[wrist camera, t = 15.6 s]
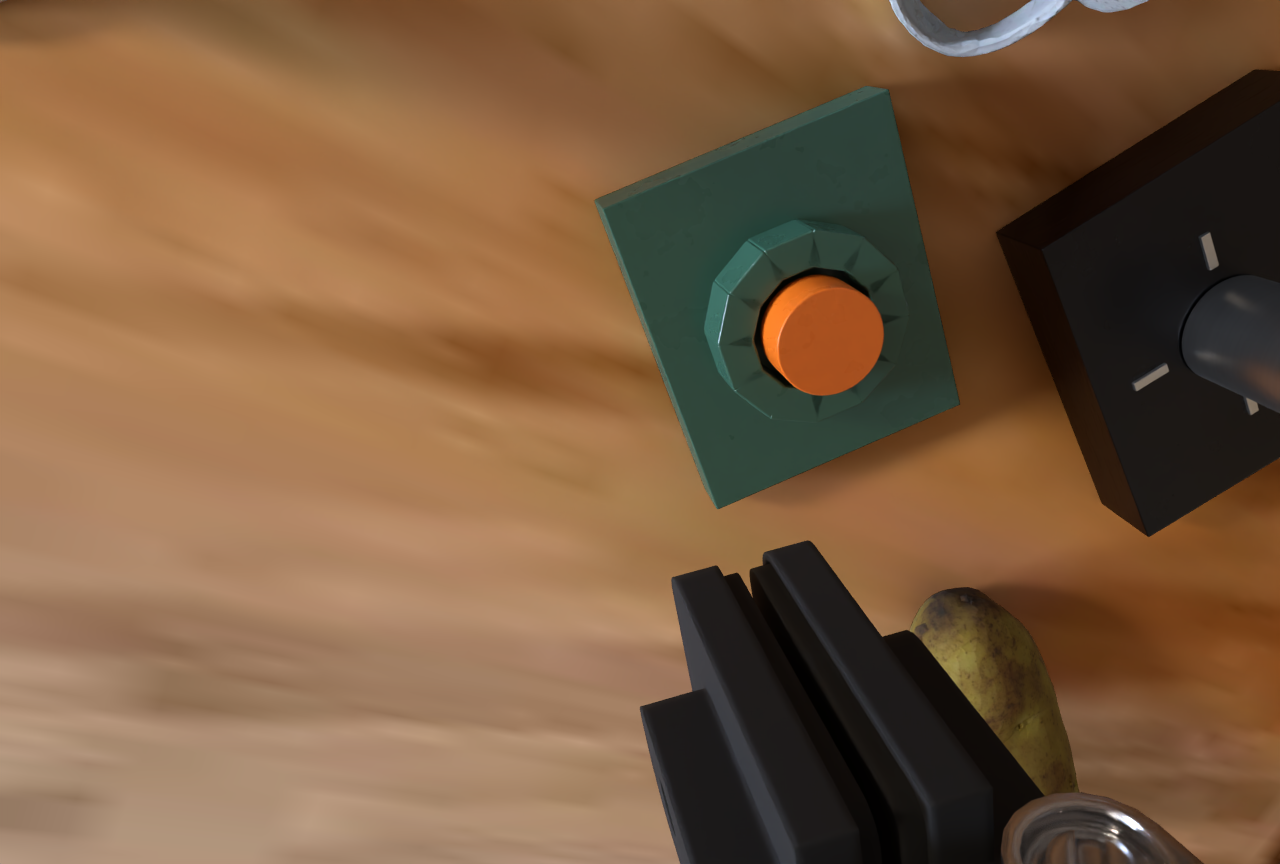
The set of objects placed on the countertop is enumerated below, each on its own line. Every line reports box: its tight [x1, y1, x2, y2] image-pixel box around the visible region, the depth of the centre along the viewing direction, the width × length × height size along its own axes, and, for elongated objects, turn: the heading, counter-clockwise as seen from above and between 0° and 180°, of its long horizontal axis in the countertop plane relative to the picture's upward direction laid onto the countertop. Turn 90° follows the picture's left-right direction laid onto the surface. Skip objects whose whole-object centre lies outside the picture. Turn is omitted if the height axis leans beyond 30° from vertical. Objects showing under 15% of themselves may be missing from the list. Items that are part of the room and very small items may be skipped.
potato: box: [910, 587, 1079, 796], centre depth 40 cm, size 8×13×8 cm, turn 173°
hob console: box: [996, 69, 1280, 537], centre depth 37 cm, size 14×11×3 cm
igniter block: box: [595, 86, 960, 509], centre depth 33 cm, size 12×10×4 cm
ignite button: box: [760, 274, 884, 396], centre depth 31 cm, size 4×4×2 cm
